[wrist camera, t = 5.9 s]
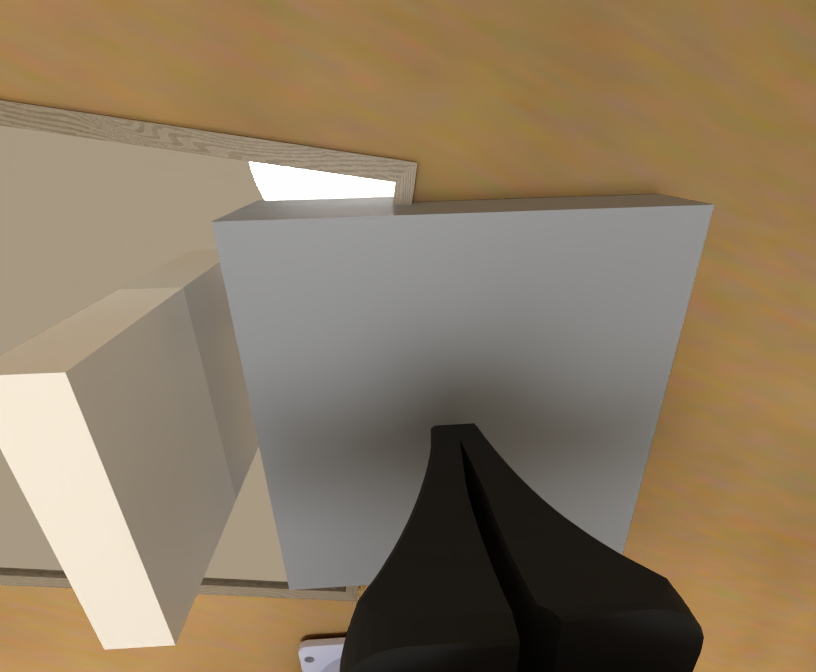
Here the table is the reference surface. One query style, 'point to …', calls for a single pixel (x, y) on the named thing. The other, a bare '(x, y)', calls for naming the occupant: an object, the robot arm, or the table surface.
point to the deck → (453, 355)
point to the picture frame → (156, 281)
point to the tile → (120, 459)
